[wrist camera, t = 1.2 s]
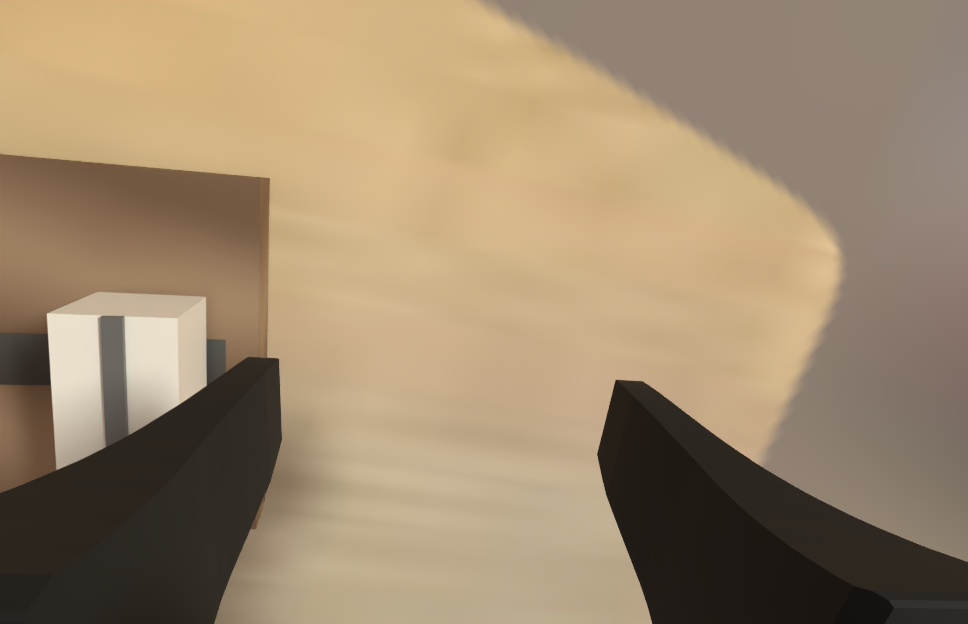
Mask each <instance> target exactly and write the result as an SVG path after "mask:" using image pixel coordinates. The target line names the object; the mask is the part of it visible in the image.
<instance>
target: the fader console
mask: <svg viewBox="0 0 968 624" xmlns="http://www.w3.org/2000/svg"><path fill="white" fill-rule="evenodd" d="M269 181H270V178H261V177H249V176H238V175H227V174H216V173H204V172H193V171H182V170H171V169H159V168H148V167H137V166H126V165H114V164H103V163H92V162H80V161H69V160H58V159H47V158H35V157H24V156H13V155H2V154H0V493H2V492H4V491H7V490H10V489H12V488H15V487H18V486H20V485H23V484H25V483H27V482H30V481H32V480H35V479H37V478H39V477H42V476H44V475H46V474H49V473H51V472H53V471H56V454H55V438H54V422H53V406H52V390H51V374H50V358H49V342H48V325H47V313H49V312H51V311H54V310H56V309H58V308H61V307H63V306H66V305H68V304H70V303H73V302H75V301H77V300H80V299H82V298H84V297H87V296H89V295H91V294H94V293H96V292H113V293H135V294H157V295H179V296H201V297H206V371H207V385H208V384H210V383H211V382H213V381H214V380H216V379H217V378H218V377H220V376H221V375H223V374H224V373H225V372H227V371H228V370H230V369H231V368H232V367H234V366H235V365H237V364H238V363H239V362H241V361H242V360H244V359H246V358H247V357H261V358H267V315H268V248H269ZM264 500H265V496H264V498H263V500H262V503H261V505H260V507H259V510H258V512H257V515H256V517H255V519H254V522H253V524H252V526H251V529H256V527H257V524H258V521H259V517H260V514H261V510H262V507H263V504H264Z"/></svg>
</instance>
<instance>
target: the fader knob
mask: <svg viewBox="0 0 968 624" xmlns="http://www.w3.org/2000/svg"><path fill="white" fill-rule="evenodd" d="M47 325H48V342H49V358H50V374H51V390H52V406H53V422H54V438H55V454H56V470H58V469H60V468H63V467H65V466H67V465H70V464H72V463H74V462H77V461H79V460H81V459H83V458H85V457H87V456H89V455H91V454H93V453H95V452H97V451H99V450H101V449H103V448H105V447H107V446H109V445H111V444H113V443H115V442H117V441H119V440H121V439H123V438H124V437H126V436H128V435H130V434H132V433H133V432H135V431H137V430H139V429H140V428H142V427H144V426H145V425H147V424H149V423H150V422H152V421H153V420H155V419H157V418H158V417H160V416H161V415H163V414H165V413H166V412H168V411H170V410H171V409H173V408H174V407H176V406H178V405H179V404H181V403H182V402H184V401H185V400H187V399H188V398H190V397H191V396H193V395H194V394H195V393H197V392H198V391H200V390H201V389H203V388H204V387H206V386H207V371H206V297H201V296H179V295H157V294H135V293H113V292H96V293H94V294H91V295H89V296H87V297H84V298H82V299H80V300H77V301H75V302H73V303H70V304H68V305H66V306H63V307H61V308H58V309H56V310H54V311H51V312H49V313H47Z"/></svg>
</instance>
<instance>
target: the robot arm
mask: <svg viewBox="0 0 968 624" xmlns="http://www.w3.org/2000/svg"><path fill="white" fill-rule="evenodd" d="M281 440H282V432H281V404H280V376H279V359H276V358H261V357H247V358H246V359H244V360H242V361H241V362H239V363H238V364H237V365H235V366H234V367H232V368H231V369H230V370H228V371H227V372H225V373H224V374H223V375H221V376H220V377H218V378H217V379H216V380H214V381H213V382H211V383H210V384H208V385H207V386H206V387H204V388H203V389H201V390H200V391H198V392H197V393H195V394H194V395H193V396H191V397H190V398H188V399H187V400H185V401H184V402H182V403H181V404H179V405H178V406H176V407H174V408H173V409H171V410H170V411H168V412H166V413H165V414H163V415H161V416H160V417H158V418H157V419H155V420H153V421H152V422H150V423H149V424H147V425H145V426H144V427H142V428H140V429H139V430H137V431H135V432H133V433H132V434H130V435H128V436H126V437H124V438H123V439H121V440H119V441H117V442H115V443H113V444H111V445H109V446H107V447H105V448H103V449H101V450H99V451H97V452H95V453H93V454H91V455H89V456H87V457H85V458H83V459H81V460H79V461H77V462H74V463H72V464H70V465H67V466H65V467H63V468H60V469H58V470H56V471H53V472H51V473H49V474H46V475H44V476H42V477H39V478H37V479H35V480H32V481H30V482H27V483H25V484H23V485H20V486H18V487H15V488H12V489H10V490H7V491H4V492H2V493H0V624H214V622H215V618H216V615H217V612H218V609H219V605H220V602H221V599H222V596H223V594H224V591H225V589H226V586H227V583H228V581H229V578H230V575H231V573H232V571H233V568H234V566H235V564H236V561H237V559H238V557H239V554H240V552H241V550H242V547H243V545H244V543H245V540H246V538H247V536H248V533H249V531H250V529H251V526H252V524H253V522H254V519H255V517H256V515H257V512H258V510H259V507H260V505H261V503H262V500H263V498H264V496H265V493H266V491H267V488H268V486H269V483H270V481H271V477H272V474H273V470H274V467H275V463H276V459H277V456H278V452H279V448H280V444H281ZM597 455H598V460H599V465H600V470H601V474H602V479H603V483H604V487H605V491H606V495H607V498H608V501H609V503H610V506H611V509H612V512H613V514H614V517H615V520H616V522H617V525H618V528H619V530H620V533H621V535H622V538H623V540H624V543H625V546H626V548H627V551H628V553H629V556H630V559H631V561H632V564H633V566H634V569H635V572H636V574H637V577H638V579H639V582H640V585H641V588H642V591H643V594H644V597H645V600H646V602H647V605H648V609H649V613H650V616H651V620H652V624H968V562H966V561H963V560H960V559H957V558H955V557H951V556H949V555H946V554H943V553H940V552H937V551H935V550H931V549H929V548H926V547H924V546H921V545H919V544H916V543H914V542H911V541H909V540H906V539H904V538H901V537H899V536H897V535H894V534H892V533H889V532H887V531H884V530H882V529H880V528H877V527H875V526H873V525H870V524H868V523H866V522H864V521H862V520H860V519H857V518H855V517H853V516H851V515H849V514H847V513H845V512H843V511H841V510H839V509H837V508H835V507H833V506H831V505H828V504H827V503H825V502H823V501H820V500H818V499H817V498H815V497H813V496H811V495H809V494H807V493H805V492H803V491H802V490H800V489H798V488H796V487H794V486H793V485H791V484H789V483H788V482H786V481H784V480H783V479H781V478H779V477H777V476H776V475H774V474H772V473H771V472H769V471H767V470H766V469H764V468H763V467H761V466H759V465H758V464H756V463H755V462H753V461H752V460H750V459H749V458H747V457H746V456H744V455H743V454H741V453H740V452H738V451H737V450H735V449H734V448H732V447H731V446H729V445H728V444H727V443H725V442H724V441H722V440H721V439H720V438H718V437H717V436H716V435H714V434H713V433H711V432H710V431H709V430H707V429H706V428H705V427H703V426H702V425H701V424H699V423H698V422H697V421H695V420H694V419H693V418H692V417H690V416H689V415H688V414H686V413H685V412H684V411H682V410H681V409H680V408H679V407H677V406H676V405H675V404H673V403H672V402H671V401H669V400H668V399H667V398H665V397H664V396H663V395H661V394H660V393H659V392H657V391H656V390H655V389H653V388H652V387H650V386H649V385H647V384H646V383H644V382H642V381H626V380H616V381H615V385H614V389H613V393H612V397H611V401H610V405H609V409H608V413H607V417H606V421H605V425H604V429H603V433H602V437H601V441H600V445H599V449H598V453H597Z"/></svg>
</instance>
